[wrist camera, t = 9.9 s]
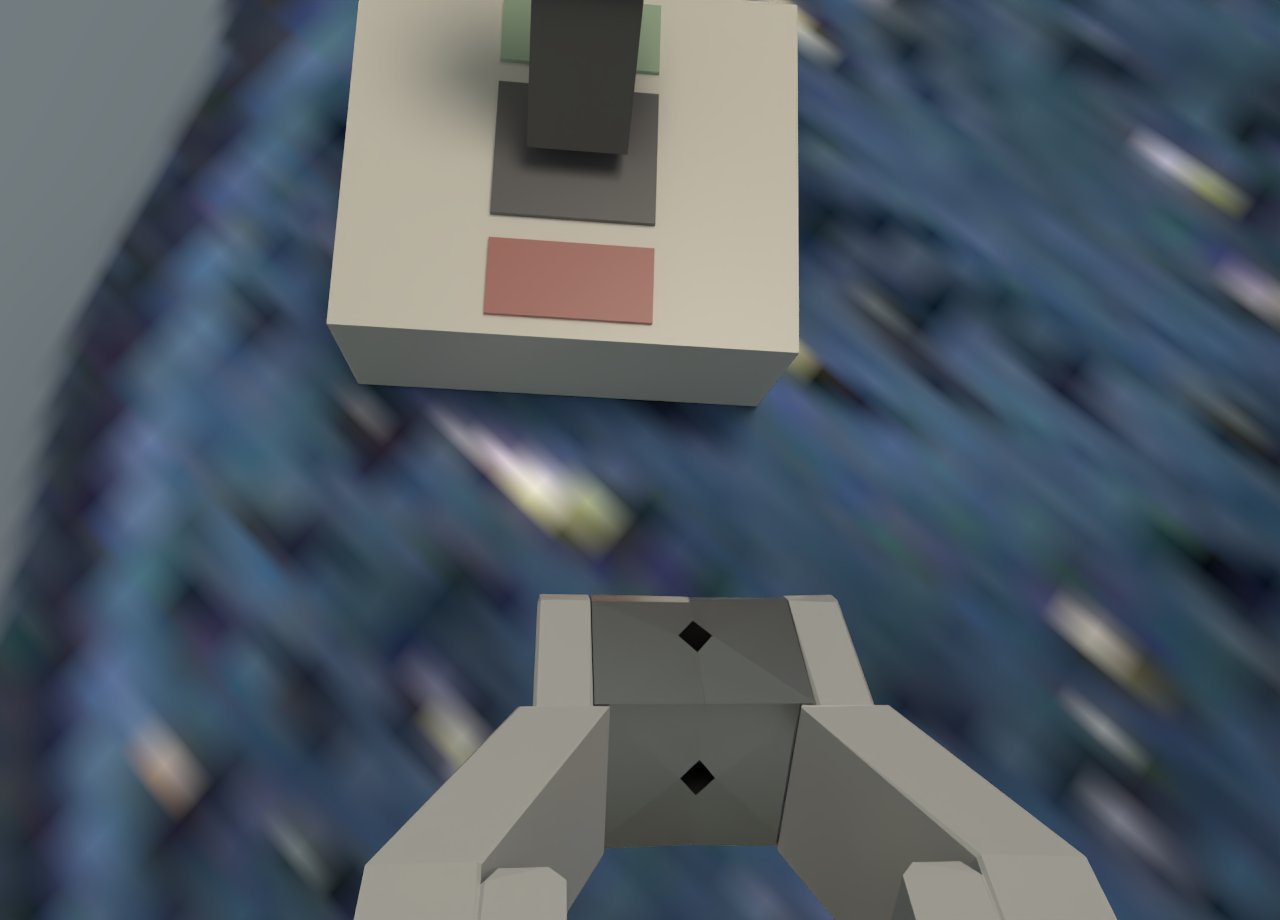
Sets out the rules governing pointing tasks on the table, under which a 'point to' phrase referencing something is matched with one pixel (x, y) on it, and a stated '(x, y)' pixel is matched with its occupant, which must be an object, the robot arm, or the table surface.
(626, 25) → the lever
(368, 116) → the block
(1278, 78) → the table surface
